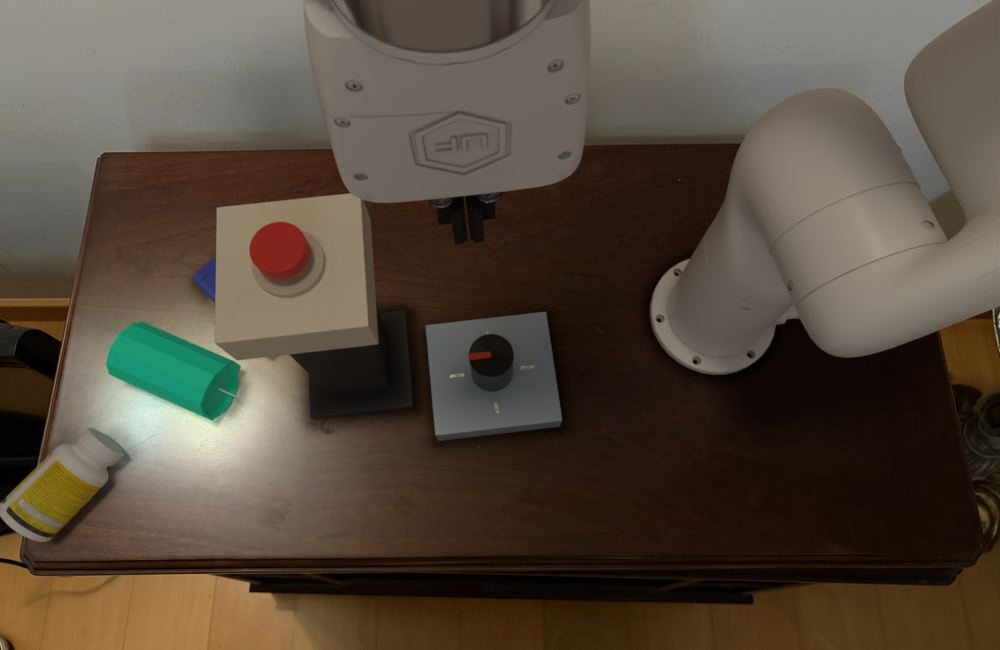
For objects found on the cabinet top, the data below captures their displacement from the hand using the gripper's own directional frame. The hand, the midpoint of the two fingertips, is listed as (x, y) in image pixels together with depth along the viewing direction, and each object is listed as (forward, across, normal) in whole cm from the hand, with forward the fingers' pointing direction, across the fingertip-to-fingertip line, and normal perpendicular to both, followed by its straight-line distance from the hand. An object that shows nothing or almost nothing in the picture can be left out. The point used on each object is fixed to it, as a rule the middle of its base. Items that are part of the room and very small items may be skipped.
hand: (466, 218), depth 38 cm
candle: (+32, -34, +7) cm, 47 cm away
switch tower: (+34, -12, +3) cm, 36 cm away
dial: (+31, +1, 0) cm, 31 cm away
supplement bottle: (+32, -43, -9) cm, 54 cm away
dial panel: (+34, +1, 0) cm, 34 cm away
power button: (+9, -12, +3) cm, 15 cm away
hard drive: (+34, -21, +12) cm, 42 cm away
